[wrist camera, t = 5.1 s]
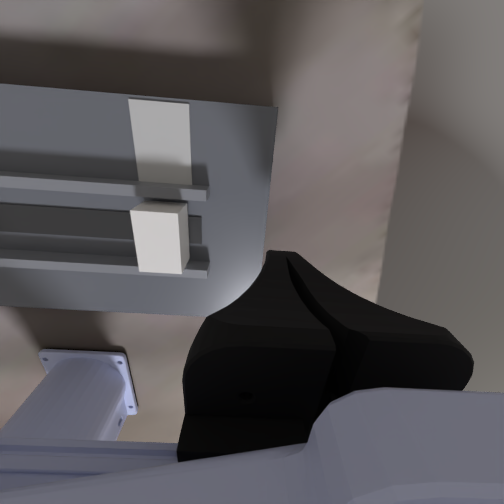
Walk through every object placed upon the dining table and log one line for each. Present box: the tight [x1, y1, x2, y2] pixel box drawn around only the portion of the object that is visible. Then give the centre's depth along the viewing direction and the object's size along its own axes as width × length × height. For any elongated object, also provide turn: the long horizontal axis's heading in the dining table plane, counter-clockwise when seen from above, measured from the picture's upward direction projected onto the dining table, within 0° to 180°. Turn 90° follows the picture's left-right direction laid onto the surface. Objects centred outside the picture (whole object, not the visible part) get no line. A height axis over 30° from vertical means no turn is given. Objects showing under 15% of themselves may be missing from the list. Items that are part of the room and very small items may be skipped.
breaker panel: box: [0, 84, 278, 317], centre depth 15 cm, size 14×22×4 cm, turn 86°
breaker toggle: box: [130, 200, 190, 274], centre depth 14 cm, size 4×2×2 cm, turn 176°
